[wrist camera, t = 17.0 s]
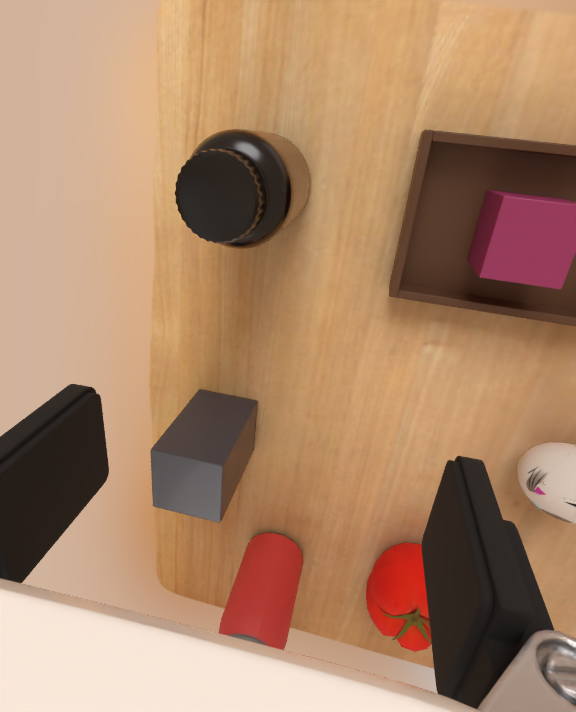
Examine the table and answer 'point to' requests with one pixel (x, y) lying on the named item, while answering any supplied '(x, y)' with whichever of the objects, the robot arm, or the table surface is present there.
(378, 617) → the tomato
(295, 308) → the table surface
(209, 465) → the bottom block
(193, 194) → the supplement bottle
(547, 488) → the figurine
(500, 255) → the top block
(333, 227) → the table surface
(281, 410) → the table surface
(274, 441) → the table surface
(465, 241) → the tray
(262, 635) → the beer can
